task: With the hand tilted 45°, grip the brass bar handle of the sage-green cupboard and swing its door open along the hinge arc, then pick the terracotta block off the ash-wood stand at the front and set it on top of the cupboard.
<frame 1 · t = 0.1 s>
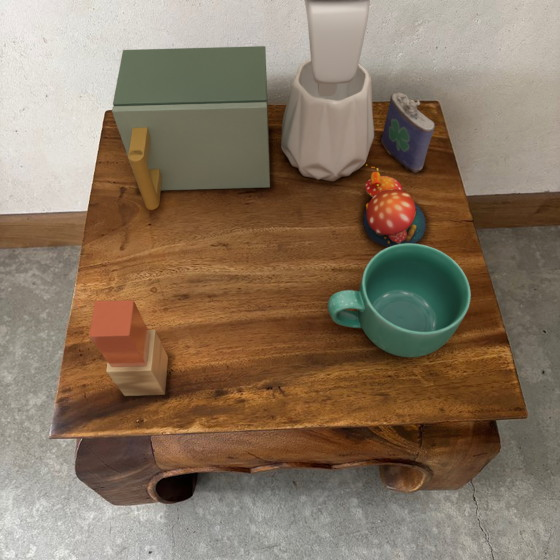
hand: (323, 61, 58), 27 cm above the table, tool pointing down, fingers open, 8 cm apart
block: (131, 350, 62), point 8 cm above the table, touching stand
cupboard: (206, 157, 88), on the table
door: (196, 166, 76), point 8 cm above the table, hinge at 0.0°
mug: (386, 323, 72), on the table
stand: (146, 376, 69), on the table
vase: (325, 156, 88), on the table
figurine: (392, 222, 81), on the table
flask: (400, 154, 88), on the table
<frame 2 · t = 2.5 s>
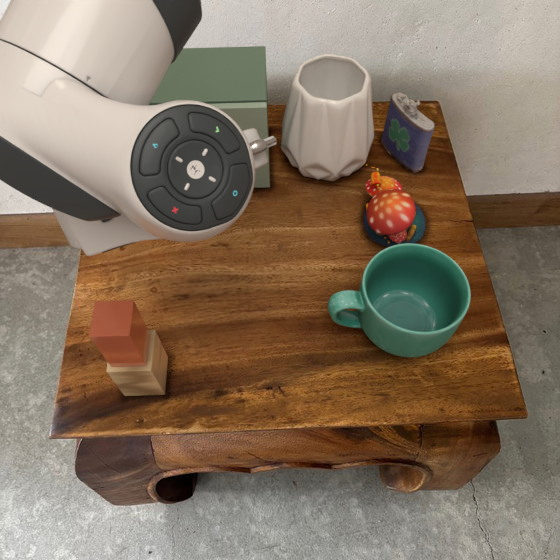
hand: (158, 187, 58), 20 cm above the table, tool tilted 40°, fingers open, 8 cm apart
nothing on the table moved.
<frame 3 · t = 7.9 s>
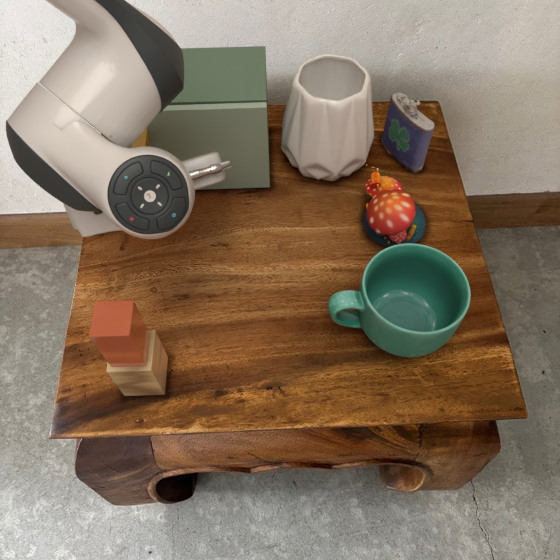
hand: (145, 185, 75), 7 cm above the table, tool tilted 45°, fingers closed on door, 2 cm apart
door: (196, 166, 76), point 8 cm above the table, hinge at 0.4°, touching gripper
everything else where it was.
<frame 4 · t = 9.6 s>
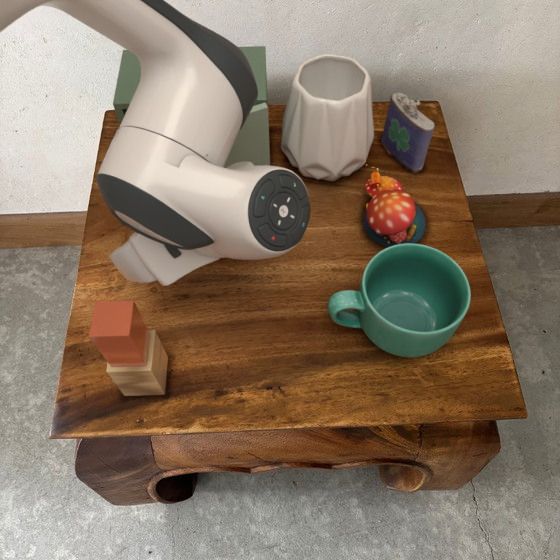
hand: (168, 219, 72), 8 cm above the table, tool tilted 45°, fingers closed on door, 2 cm apart
door: (209, 185, 74), point 8 cm above the table, hinge at 22.6°, touching gripper
everything else where it was.
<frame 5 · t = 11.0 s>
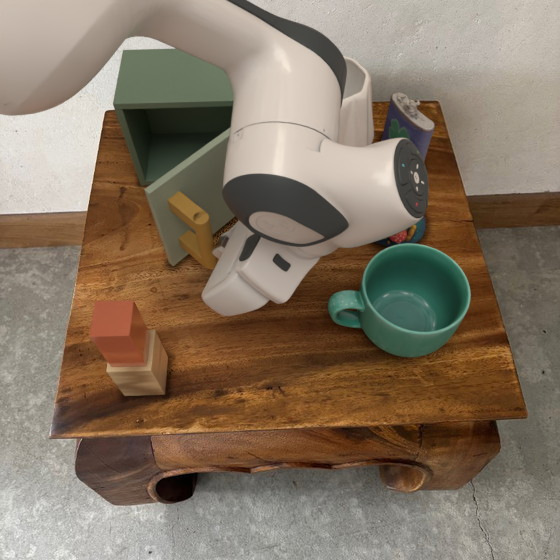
hand: (220, 247, 69), 8 cm above the table, tool tilted 45°, fingers closed
door: (232, 199, 73), point 8 cm above the table, hinge at 44.8°
everything else where it was.
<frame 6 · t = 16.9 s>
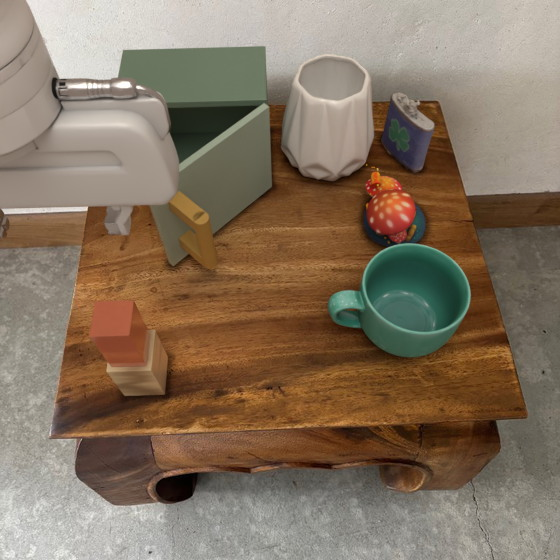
hand: (60, 230, 42), 31 cm above the table, tool pointing down, fingers open, 8 cm apart
nothing on the table moved.
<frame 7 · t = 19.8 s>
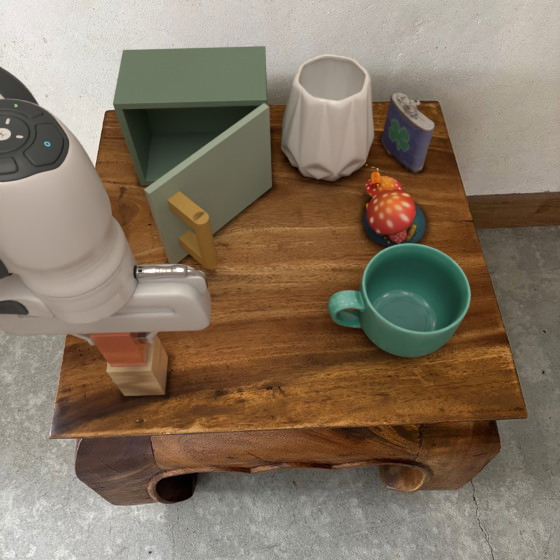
hand: (123, 338, 59), 11 cm above the table, tool pointing down, fingers closed on block, 4 cm apart
block: (131, 350, 62), point 8 cm above the table, touching gripper, stand
everything else where it was.
when the fingers open (19 cm above the table, at t = 27.6 s): block stays where it is, resting on cupboard.
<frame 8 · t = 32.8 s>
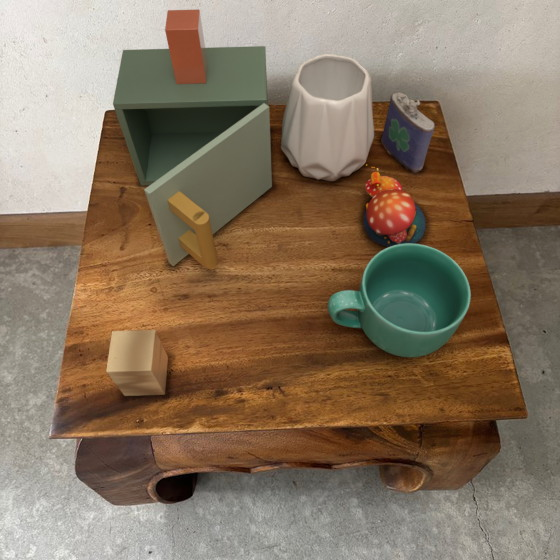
block: (192, 74, 74), point 16 cm above the table, touching cupboard
everything else where it was.
at the end: door at +45° (first picture: +0°); block inside the target area on the cupboard (0.1 cm from its centre), point 16.0 cm above the cupboard's base; block tilted 0° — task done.
